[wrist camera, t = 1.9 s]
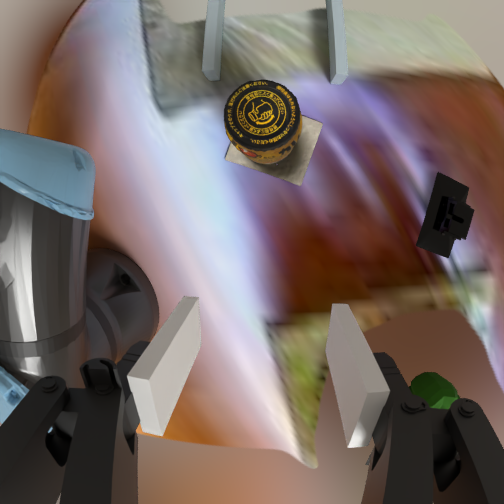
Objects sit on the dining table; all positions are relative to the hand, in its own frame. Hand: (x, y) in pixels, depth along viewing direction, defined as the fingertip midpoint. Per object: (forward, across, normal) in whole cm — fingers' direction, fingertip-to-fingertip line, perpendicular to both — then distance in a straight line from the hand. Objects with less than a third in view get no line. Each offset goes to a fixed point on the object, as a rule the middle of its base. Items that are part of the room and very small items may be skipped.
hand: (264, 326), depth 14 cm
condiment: (+19, 0, +11) cm, 22 cm away
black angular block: (+20, +21, +4) cm, 29 cm away
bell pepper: (+19, +24, -21) cm, 37 cm away
